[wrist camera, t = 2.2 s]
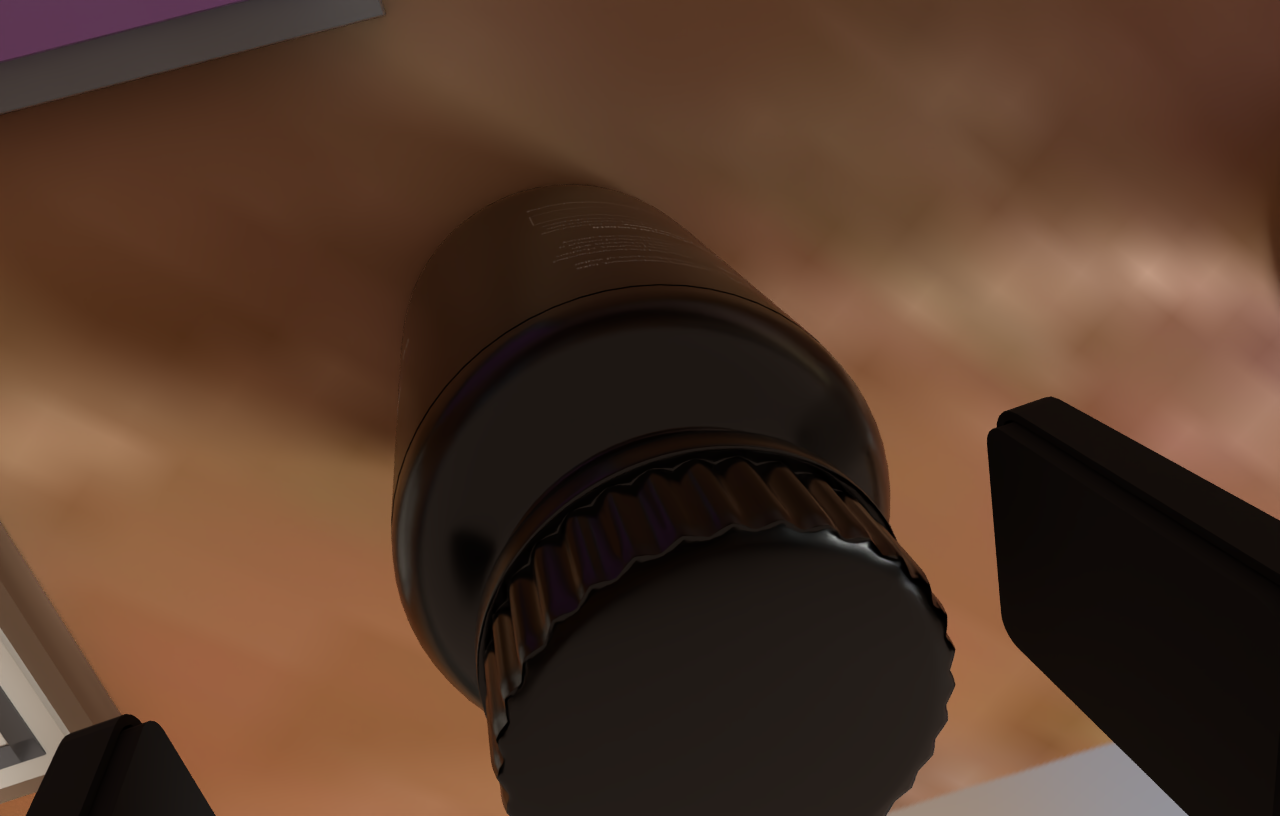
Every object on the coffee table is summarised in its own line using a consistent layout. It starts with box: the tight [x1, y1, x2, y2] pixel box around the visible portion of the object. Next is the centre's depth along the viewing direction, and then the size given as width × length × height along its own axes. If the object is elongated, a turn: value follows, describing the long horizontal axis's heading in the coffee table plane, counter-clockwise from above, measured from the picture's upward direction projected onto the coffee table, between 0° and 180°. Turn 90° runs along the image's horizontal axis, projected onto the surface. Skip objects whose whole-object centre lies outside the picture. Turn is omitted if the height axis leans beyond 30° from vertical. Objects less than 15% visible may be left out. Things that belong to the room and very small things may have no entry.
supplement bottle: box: [391, 184, 955, 816], centre depth 14 cm, size 7×7×12 cm
